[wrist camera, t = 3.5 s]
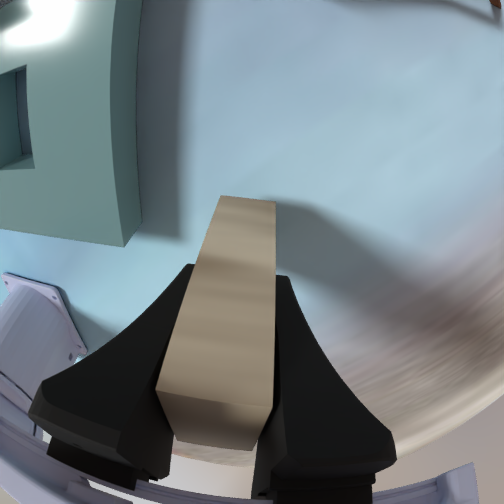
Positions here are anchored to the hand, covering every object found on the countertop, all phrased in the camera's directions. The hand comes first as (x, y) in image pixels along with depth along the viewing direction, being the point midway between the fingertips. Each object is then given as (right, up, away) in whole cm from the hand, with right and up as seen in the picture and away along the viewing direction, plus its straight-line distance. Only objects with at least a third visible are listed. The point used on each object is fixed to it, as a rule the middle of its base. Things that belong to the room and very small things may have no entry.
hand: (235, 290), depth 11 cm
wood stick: (0, +2, +3) cm, 4 cm away
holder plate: (-12, +10, +1) cm, 15 cm away
